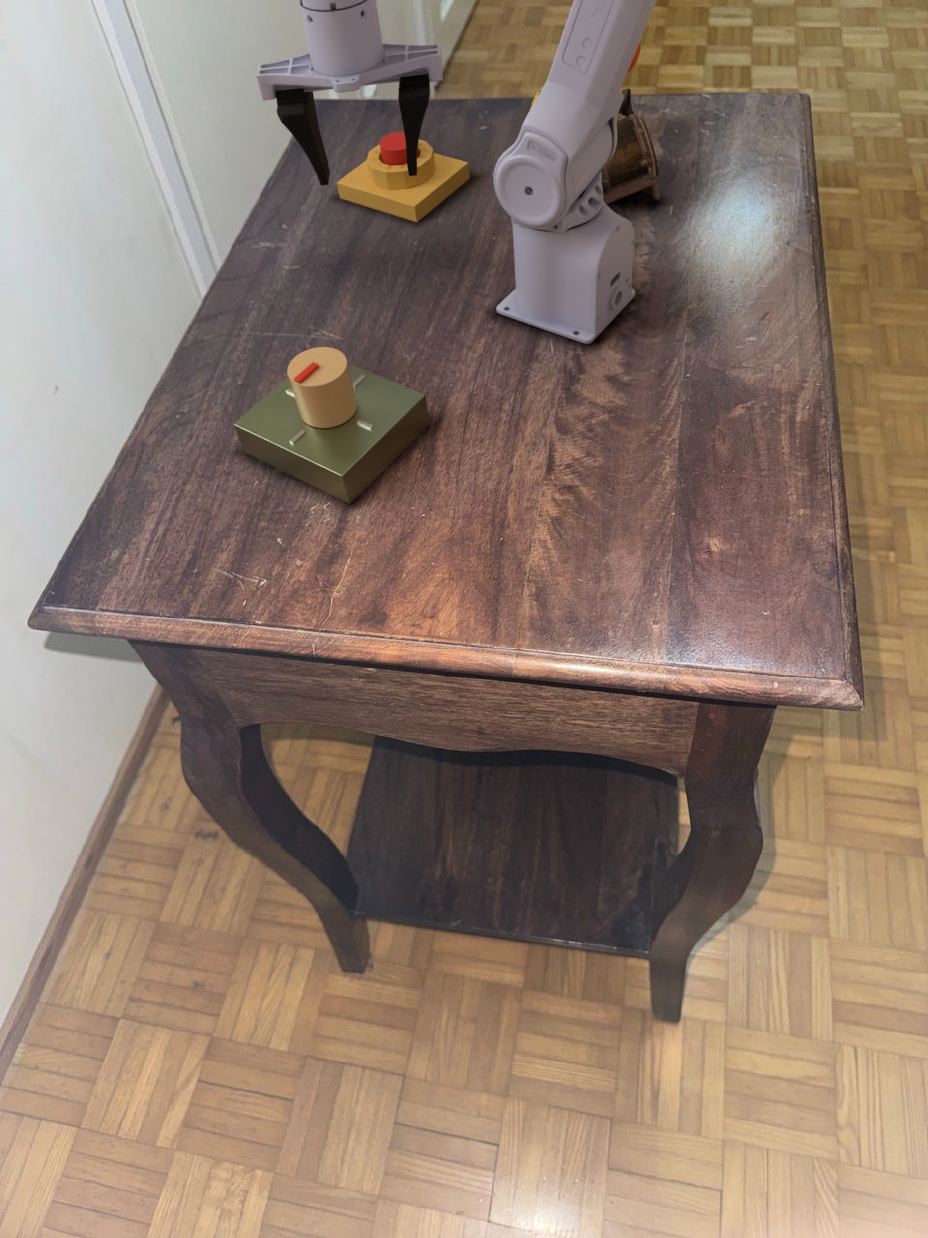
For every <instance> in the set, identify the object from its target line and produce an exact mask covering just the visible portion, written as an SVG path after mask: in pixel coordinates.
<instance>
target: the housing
mask: <svg viewBox="0 0 928 1238" xmlns="http://www.w3.org/2000/svg"><path fill="white" fill-rule="evenodd" d="M417 150H418V158H417V175H416V176H409V174H408V168H407V164H405V165H395V166H390V165H387V164H384V163H383V161H382V156H381V150H380V143H378V144H377V145H376V146H375V147H373V148H372V149H371V150H369V151H368V155H367V157H366V160H365V161H363V162H362V163H361V164H359V165H358V166H357V167H356V168H354V169H352V170H351V171H349V173H347V174H346V175H345V176H342V178H341V179H339V180H338V181H337V182H336V186H337V190H338V195H339V199H341V200H344V201H348V202H351V203H354V204H356V205H360V206H363V207H367V208H370V209H374V210H376V211H380V212H383V213H386V214H388V215H392V216H395V217H399V218H402V219H405V220H408V221H412V222H415V223H418V222H419V221H420V220H422V219H423V218H424V217H425V216H427V215H428V214H429V213H430V212H431V211H432V210H434V209H435V208H436V207H437V206H439V205H440V204H441V203H442V202H443V201H445V200H446V199H447V198H449V197H450V196H451V195H452V194H453V193H454V192H455V191H457V190H458V189H459V188H461V187H462V186H463V185H464V184H465V183H467V181H469V180H470V178H471V176H470V166H469V165H470V164H469V162H468V161H466V160H465V161H464V160H461V159H457V158H454V157H450V156H446V155H443V154H439V153H435V152H434V148H433V147H432V146H431V145H430V144H429V142H427V141H426V140H423V139H419V141H418V148H417Z"/></svg>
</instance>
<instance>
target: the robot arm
mask: <svg viewBox="0 0 928 1238" xmlns="http://www.w3.org/2000/svg"><path fill="white" fill-rule="evenodd" d="M297 1H298V4H299V10H300V15H301V19H302V24H303V28H304V33H305V37H306V42H307V43H306V44H307V48H308V52H307V53H304V54H300V55H296V56H293V57H290V58H289V57H288V58H286V59H281V60H276V61H272V62H268V63H267V62H266V63H260V64H258V67H257V71H256V75H255V77H256V79H257V84H258V88H259V92H260V95H261V99H262V101H264V102H265V101H272V100H275V99H276V106H277V107H276V114H277V117H278V120H279V121H280V123H281V124H282V125H283V126H284V127H285V128H286V129H287V131H288V132H289V133H290V134H291V135H292V136H293V138H294V139H295V141H296V142H297V143H298V145H299V146H300V147H301V149H302V151H303V152H304V155H306V157H307V159H308V160H309V162H310V165H311V166H312V168H313V170H314V173H315V174H316V177H317V179H318V183H319V185H320V186H328V185H329V183H330V175H331V171H330V165H329V160H328V156H327V152H326V149H325V145H324V142H323V138H322V134H321V131H320V126H319V120H318V119H319V118H318V114H317V113H318V112H317V108H316V102H315V97H314V95H315V94H314V92H319V91H320V92H321V91H329V90H333V92H335V93H348V92H356V91H359V90H360V89H361V87H364V86H373V85H383V84H390V83H398V95H397V97H398V98H397V99H398V106H399V111H400V112H399V113H400V116H401V122H402V127H403V132H404V134H405V141H406V155H407V168H408V174H409V176H416V175H417V148H418V141H419V140H420V135H421V131H422V126H423V122H424V119H425V115H426V113H427V109H428V107H429V102H430V98H431V83H433V82H442V81H443V80H444V73H443V72H444V71H443V70H444V69H443V60H442V51H441V50H442V49H441V44H440V43H436V44H435V43H434V44H403V43H402V44H401V43H383V38H382V37H383V36H382V32H381V31H382V29H381V24H380V17H379V12H378V5H377V0H297ZM657 2H658V0H573V2H572V4H571V8H570V10H569V14H568V16H567V20H566V22H565V25H564V29H563V32H562V34H561V37H560V40H559V43H558V46H557V49H556V52H555V55H554V58H553V61H552V63H551V67H550V71H549V72H548V76H547V79H546V81H545V83H544V84H543V87H542V88H541V89H542V90H541V92H540V94H539V95H538V97H537V99H536V101H535V102H534V104H533V106H532V105H531V106H532V108H531V107H530V109H529V111H528V113H527V114H526V116H525V118H524V120H523V122H522V125H521V127H520V131H519V133H518V136H517V138H516V139H515V141H514V143H513V144H512V145H511V146H509V147H508V148H507V149H506V150H505V151H503V153H502V154H501V155H500V156H499V157H498V159H497V161H496V163H495V166H494V169H493V189H494V192H495V195H496V197H497V200H498V202H499V204H500V205H501V207H502V209H503V210H504V212H505V213H506V214H507V215H508V216H509V217H510V219H511V220H510V221H511V224H512V240H513V241H512V242H513V243H512V245H513V258H514V259H513V261H514V262H513V263H514V274H515V275H514V276H515V277H514V279H515V288H514V289H513V290H512V291H511V292H510V293H509V294H508V295H507V296H506V297H505V298H504V299H503V300H502V301H501V302H499V303H498V304H497V306H496V313H497V314H499V315H502V316H505V317H507V318H510V319H512V320H515V321H519V322H521V323H524V324H527V325H530V326H533V327H536V328H539V329H541V330H544V331H547V332H550V333H552V334H555V335H559V336H561V337H564V338H568V339H571V340H573V341H575V342H578V343H582V344H585V345H589V344H592V343H593V342H594V341H595V339H597V338H598V337H599V335H601V333H602V332H603V331H604V330H605V329H606V328H607V327H608V325H610V323H611V322H612V321H613V320H614V319H615V318H617V316H618V315H619V314H620V313H621V312H622V310H623V309H624V308H625V307H626V306H627V305H628V304H629V303H630V302H631V301H632V300H633V298H635V296H636V289H634V288H632V287H633V273H634V272H633V270H634V254H635V239H636V238H635V237H636V236H635V228H634V225H633V223H632V221H631V220H629V219H627V218H626V217H623V216H621V215H620V214H618V213H617V212H615V211H613V209H612V208H610V207H609V206H608V204H605V202H604V201H603V195H604V191H603V188H602V183H601V179H602V171H601V169H603V168H604V167H605V166H606V165H607V164H608V163H609V161H610V160H611V158H612V157H613V155H614V152H615V149H616V145H617V117H618V112H619V110H620V107H621V105H622V102H623V100H624V96H623V94H622V92H621V88H622V86H623V83H624V81H625V79H626V76H627V74H628V73H627V71H628V69H629V67H630V64H631V62H632V59H633V57H634V54H635V52H636V50H637V47H638V45H639V42H640V43H641V40H642V37H643V35H644V33H645V31H646V28H647V26H648V23H649V21H650V19H651V17H652V13H653V11H654V9H655V7H656V4H657Z"/></svg>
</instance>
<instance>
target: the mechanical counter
mask: <svg viewBox="0 0 928 1238" xmlns="http://www.w3.org/2000/svg"><path fill="white" fill-rule="evenodd" d="M603 169H604V172H605V174H606V178H607V182H608V185H609V189H607V190H606V191H605V192H606V193H603V201H604V202H605V204H606V205H608V204H610V203H615V202H617V201H619V200H622V199H624V198H626V197H628V196H630V195H633V194H635V193H638V192H640V191H643V190H645V189H649V192H650V194H651V197H652V198H653V200H654V201H659V199H660V197H661V196H660V195H661V194H660V188H659V182H658V176H659V173H660V170H659V166H658V160H657V155H656V151H655V148H654V144H653V142H652V139H651V136H650V133H649V129H648V126H647V124H646V122H645V120H644V118H643V117H642V116H641V115H640V114H638V113H634V114H632V115H629V116H628V117H624V118H621V119H619V121H617V145H616V149H615V152H614V155H613V157H612V158H611V160H610V161H609V163H608V164H607V165H606V166H605V167H604V168H603Z"/></svg>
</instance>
